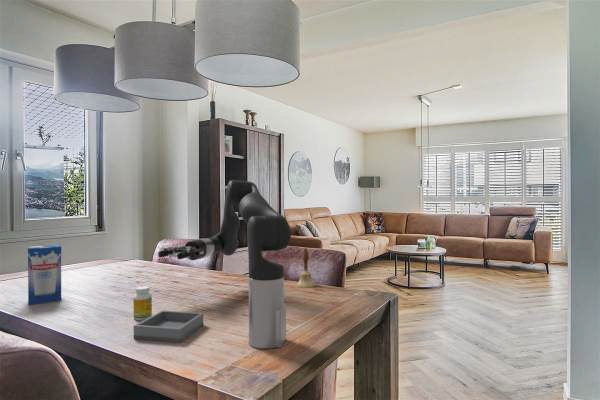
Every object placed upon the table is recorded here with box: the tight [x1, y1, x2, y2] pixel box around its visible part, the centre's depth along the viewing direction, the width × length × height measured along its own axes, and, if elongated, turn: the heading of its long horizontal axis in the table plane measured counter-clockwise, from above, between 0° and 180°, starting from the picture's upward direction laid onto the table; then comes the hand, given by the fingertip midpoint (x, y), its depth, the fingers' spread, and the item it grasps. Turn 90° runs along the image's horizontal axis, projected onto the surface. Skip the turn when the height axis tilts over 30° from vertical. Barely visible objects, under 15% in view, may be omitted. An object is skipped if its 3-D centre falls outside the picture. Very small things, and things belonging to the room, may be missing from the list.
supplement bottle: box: [132, 285, 153, 321], centre depth 115 cm, size 5×5×10 cm
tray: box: [133, 310, 204, 343], centre depth 104 cm, size 14×14×4 cm
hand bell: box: [296, 248, 316, 288], centre depth 158 cm, size 8×8×16 cm
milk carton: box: [27, 244, 62, 306], centre depth 134 cm, size 10×6×20 cm, turn 123°
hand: (168, 255), depth 126 cm, fingers open, 8 cm apart
